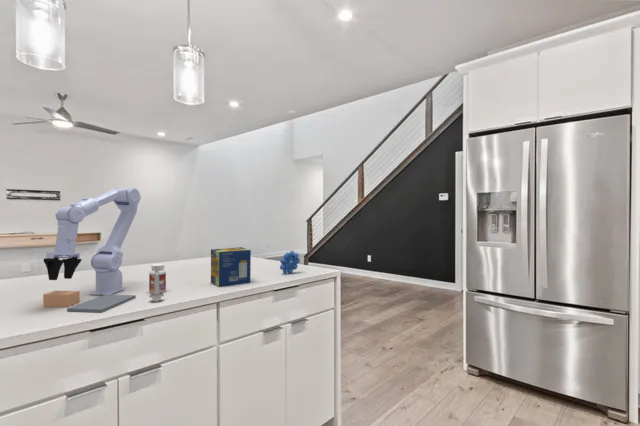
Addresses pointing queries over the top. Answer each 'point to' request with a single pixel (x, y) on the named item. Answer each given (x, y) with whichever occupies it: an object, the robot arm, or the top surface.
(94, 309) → the rubber mat
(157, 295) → the white flanged spindle
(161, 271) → the pill bottle
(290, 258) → the grapes
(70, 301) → the tan rectangular block
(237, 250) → the protein box
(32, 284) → the top surface
